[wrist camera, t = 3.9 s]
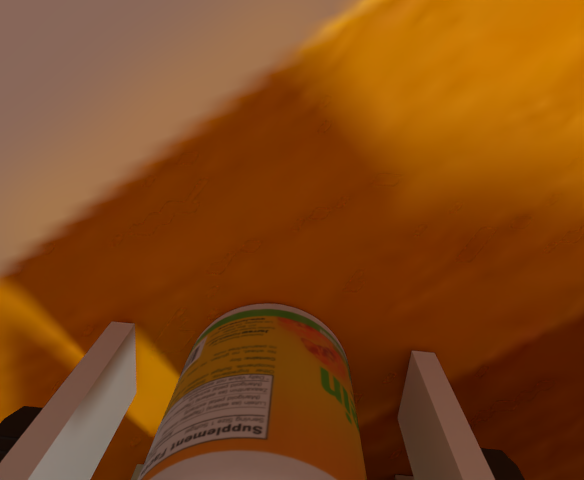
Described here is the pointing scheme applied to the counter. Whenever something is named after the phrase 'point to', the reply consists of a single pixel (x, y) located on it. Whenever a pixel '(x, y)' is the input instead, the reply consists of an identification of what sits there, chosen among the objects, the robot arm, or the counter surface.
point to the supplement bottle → (261, 404)
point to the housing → (403, 477)
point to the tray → (137, 472)
